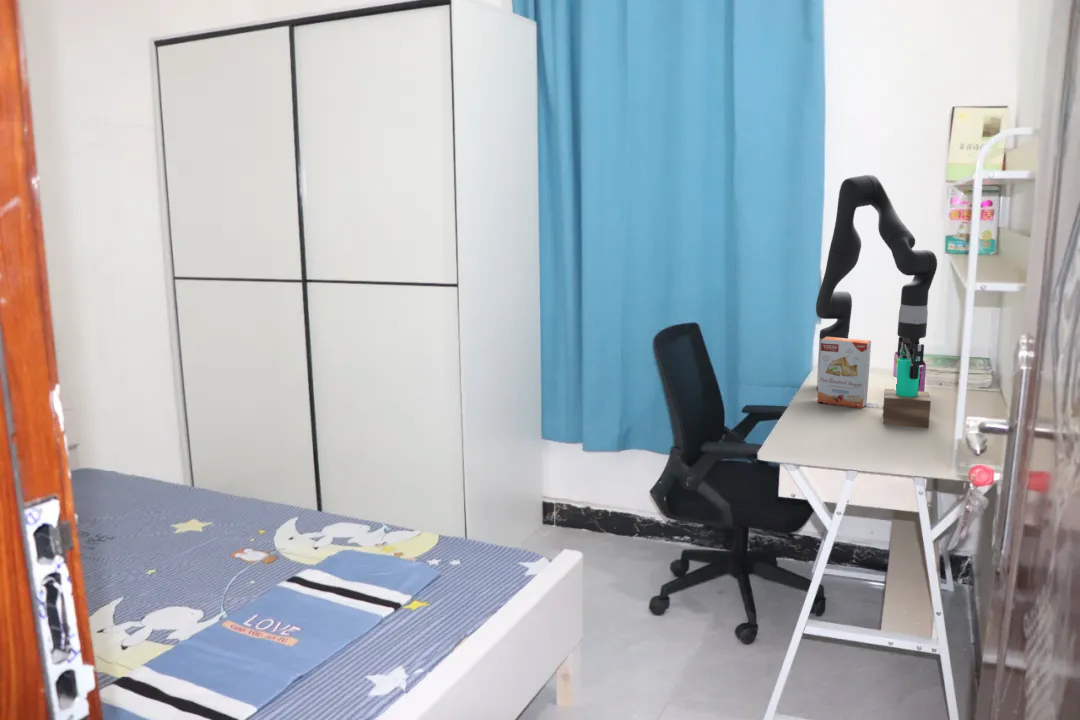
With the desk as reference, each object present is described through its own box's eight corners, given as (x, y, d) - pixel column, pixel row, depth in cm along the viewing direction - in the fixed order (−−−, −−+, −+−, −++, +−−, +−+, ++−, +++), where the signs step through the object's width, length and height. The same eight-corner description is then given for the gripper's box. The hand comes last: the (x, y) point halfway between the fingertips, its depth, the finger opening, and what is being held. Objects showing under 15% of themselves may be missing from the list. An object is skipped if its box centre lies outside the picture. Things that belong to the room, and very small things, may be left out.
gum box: (924, 409, 255) (927, 366, 252) (896, 407, 257) (899, 364, 255) (916, 392, 277) (919, 352, 274) (891, 390, 279) (894, 351, 277)
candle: (920, 397, 237) (923, 356, 235) (898, 396, 238) (900, 355, 236) (915, 392, 243) (917, 352, 241) (893, 392, 244) (896, 352, 242)
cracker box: (816, 403, 263) (820, 338, 259) (822, 399, 268) (825, 335, 264) (862, 409, 256) (867, 342, 251) (867, 404, 260) (871, 339, 256)
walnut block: (882, 414, 250) (884, 388, 248) (926, 418, 245) (928, 391, 244) (882, 424, 239) (884, 397, 237) (928, 428, 234) (930, 401, 233)
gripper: (891, 316, 244) (887, 370, 247) (907, 324, 230) (903, 381, 233) (917, 316, 243) (913, 370, 246) (935, 324, 229) (931, 381, 232)
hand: (908, 375), depth 239 cm, fingers open, 8 cm apart
